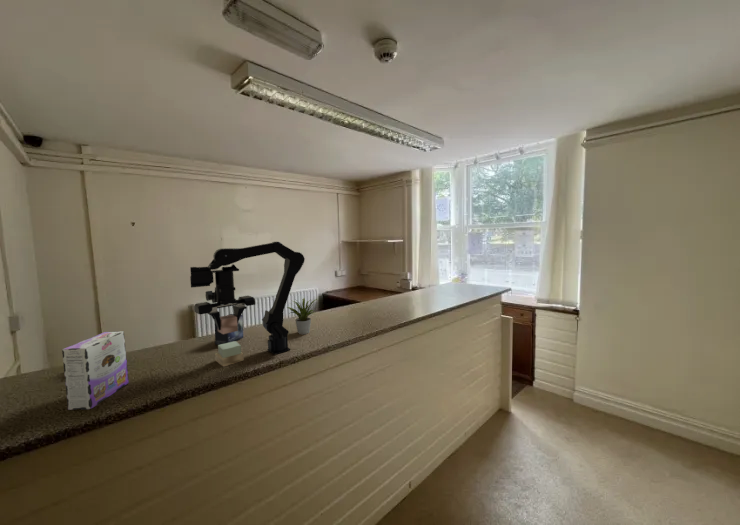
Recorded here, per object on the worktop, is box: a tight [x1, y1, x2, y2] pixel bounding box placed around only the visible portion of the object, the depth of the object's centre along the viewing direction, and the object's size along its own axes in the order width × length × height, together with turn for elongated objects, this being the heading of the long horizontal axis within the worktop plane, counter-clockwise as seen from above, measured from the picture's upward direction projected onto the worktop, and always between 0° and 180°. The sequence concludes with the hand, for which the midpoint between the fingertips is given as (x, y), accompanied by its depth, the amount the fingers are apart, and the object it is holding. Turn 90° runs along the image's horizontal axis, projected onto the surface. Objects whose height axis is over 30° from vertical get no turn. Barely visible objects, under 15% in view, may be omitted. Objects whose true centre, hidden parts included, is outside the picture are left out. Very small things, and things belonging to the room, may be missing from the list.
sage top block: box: [217, 341, 242, 358], centre depth 106 cm, size 6×6×3 cm
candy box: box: [61, 330, 129, 411], centre depth 82 cm, size 14×6×16 cm, turn 5°
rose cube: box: [218, 314, 238, 334], centre depth 105 cm, size 5×5×5 cm
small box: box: [213, 313, 244, 346], centre depth 126 cm, size 11×6×10 cm, turn 168°
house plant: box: [286, 297, 318, 335], centre depth 137 cm, size 14×14×16 cm
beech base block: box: [214, 351, 244, 367], centre depth 106 cm, size 7×7×3 cm
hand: (227, 328), depth 105 cm, fingers closed on rose cube, 5 cm apart
